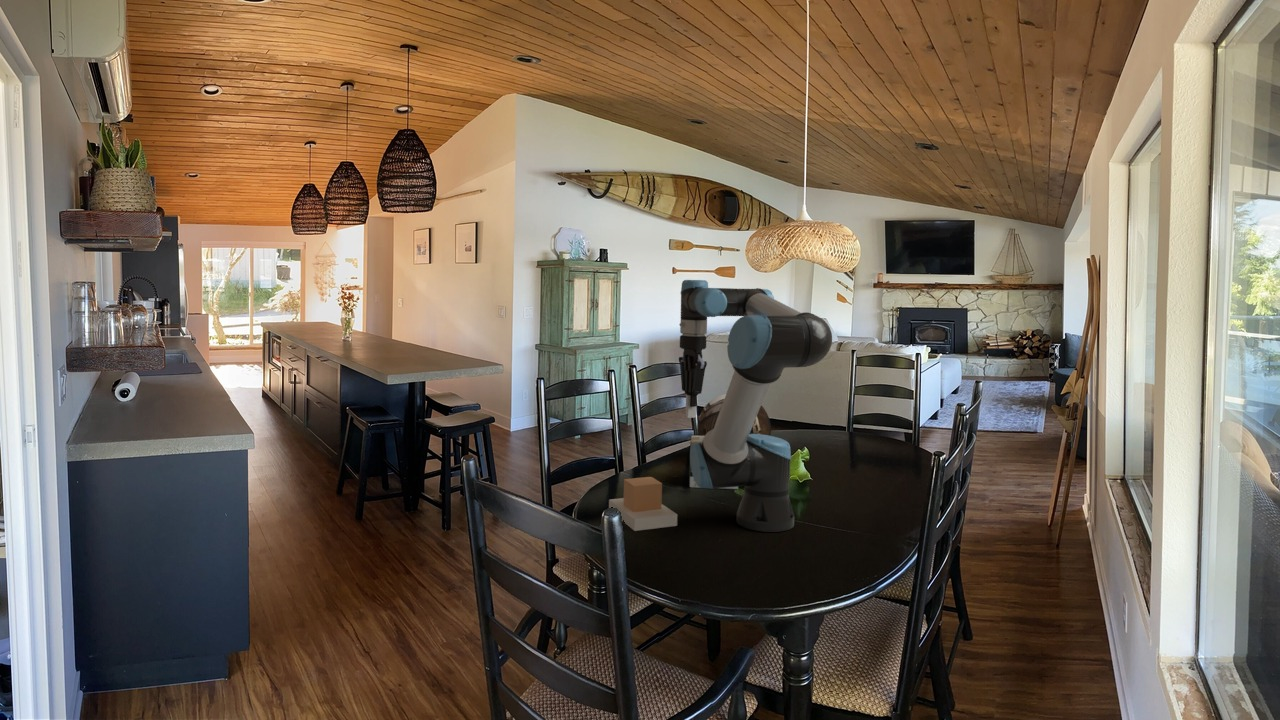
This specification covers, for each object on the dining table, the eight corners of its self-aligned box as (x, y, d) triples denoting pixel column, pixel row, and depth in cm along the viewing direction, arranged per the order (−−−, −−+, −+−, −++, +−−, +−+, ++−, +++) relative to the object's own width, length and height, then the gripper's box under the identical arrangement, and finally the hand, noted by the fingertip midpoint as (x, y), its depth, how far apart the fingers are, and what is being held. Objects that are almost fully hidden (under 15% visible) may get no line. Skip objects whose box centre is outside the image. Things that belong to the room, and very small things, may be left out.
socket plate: (677, 525, 199) (677, 514, 199) (634, 530, 194) (634, 519, 194) (648, 505, 215) (648, 495, 215) (608, 510, 210) (609, 499, 210)
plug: (661, 520, 203) (662, 483, 202) (633, 523, 200) (634, 486, 199) (650, 512, 209) (651, 476, 208) (623, 515, 206) (623, 479, 205)
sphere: (774, 475, 250) (777, 400, 247) (698, 473, 251) (700, 398, 248) (763, 457, 275) (766, 388, 272) (694, 455, 275) (696, 386, 273)
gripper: (671, 333, 220) (668, 413, 223) (692, 337, 208) (689, 422, 211) (694, 332, 223) (691, 412, 226) (716, 336, 211) (713, 420, 214)
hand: (690, 417), depth 219 cm, fingers closed
